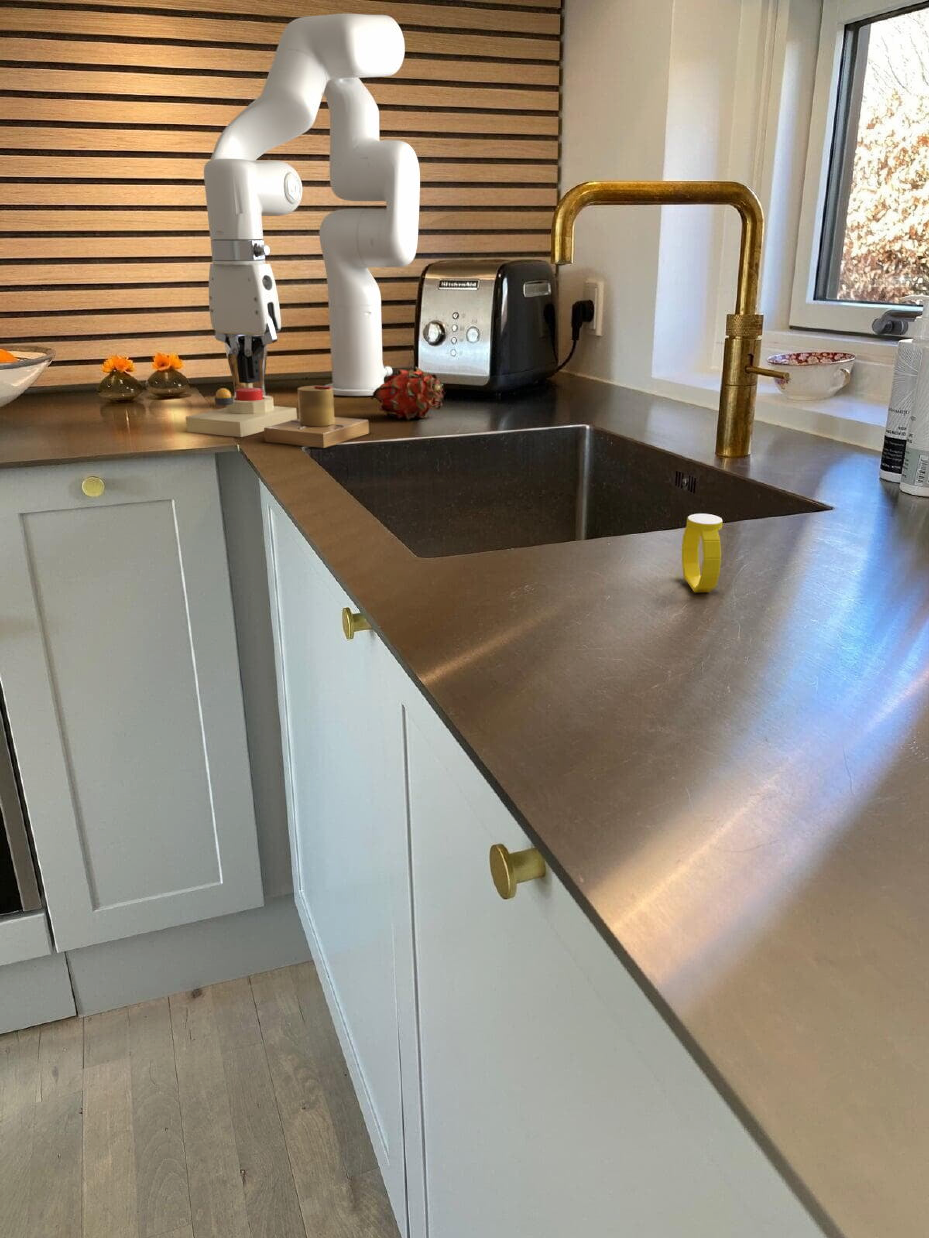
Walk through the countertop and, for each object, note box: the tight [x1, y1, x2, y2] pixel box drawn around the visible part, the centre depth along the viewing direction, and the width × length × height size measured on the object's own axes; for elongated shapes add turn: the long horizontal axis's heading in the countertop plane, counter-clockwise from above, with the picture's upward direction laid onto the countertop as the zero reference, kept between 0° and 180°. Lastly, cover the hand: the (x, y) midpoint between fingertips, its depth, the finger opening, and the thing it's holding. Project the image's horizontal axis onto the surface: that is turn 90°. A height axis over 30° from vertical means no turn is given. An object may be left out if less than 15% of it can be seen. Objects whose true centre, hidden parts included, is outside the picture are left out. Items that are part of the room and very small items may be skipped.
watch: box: [681, 513, 723, 594], centre depth 77 cm, size 6×3×6 cm, turn 4°
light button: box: [236, 388, 263, 401], centre depth 144 cm, size 4×4×2 cm
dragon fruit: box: [370, 366, 447, 421], centre depth 150 cm, size 8×8×12 cm
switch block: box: [185, 395, 298, 438], centre depth 143 cm, size 14×10×4 cm
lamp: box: [214, 387, 234, 406], centre depth 139 cm, size 3×3×2 cm
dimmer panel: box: [263, 416, 370, 449], centre depth 136 cm, size 12×10×2 cm
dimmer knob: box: [297, 385, 336, 426], centre depth 135 cm, size 5×5×5 cm
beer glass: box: [224, 333, 268, 397], centre depth 159 cm, size 7×7×15 cm
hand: (249, 381), depth 144 cm, fingers closed
